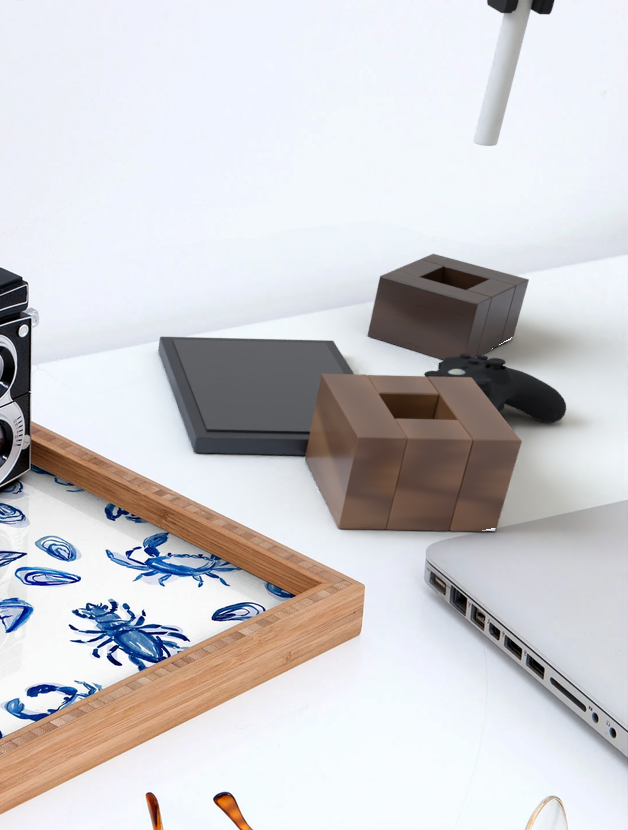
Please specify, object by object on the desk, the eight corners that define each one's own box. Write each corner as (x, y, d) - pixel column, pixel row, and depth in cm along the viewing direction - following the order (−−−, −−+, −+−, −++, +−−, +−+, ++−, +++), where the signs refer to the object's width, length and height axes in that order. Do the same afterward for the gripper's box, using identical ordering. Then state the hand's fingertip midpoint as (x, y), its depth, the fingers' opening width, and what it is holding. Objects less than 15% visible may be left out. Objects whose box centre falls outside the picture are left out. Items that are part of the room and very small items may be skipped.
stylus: (492, 140, 89) (553, -103, 82) (500, 146, 88) (562, -99, 81) (469, 139, 89) (527, -103, 82) (476, 146, 88) (536, -100, 80)
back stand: (419, 311, 100) (433, 253, 97) (513, 339, 96) (529, 279, 93) (366, 336, 96) (379, 275, 93) (462, 366, 92) (477, 303, 89)
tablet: (330, 355, 93) (333, 338, 92) (392, 457, 81) (397, 439, 80) (157, 351, 93) (160, 334, 92) (194, 453, 81) (196, 435, 80)
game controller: (512, 454, 78) (428, 355, 79) (444, 507, 82) (365, 412, 83) (581, 403, 84) (502, 311, 85) (515, 455, 88) (440, 366, 89)
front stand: (449, 463, 80) (472, 376, 77) (496, 532, 74) (522, 440, 71) (304, 459, 80) (321, 373, 77) (338, 528, 74) (358, 437, 71)
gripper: (736, -384, 77) (626, 1, 87) (440, -393, 77) (367, -6, 87) (806, -388, 71) (679, 26, 81) (485, -398, 70) (400, 18, 81)
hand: (518, 7), depth 84 cm, fingers closed on stylus
